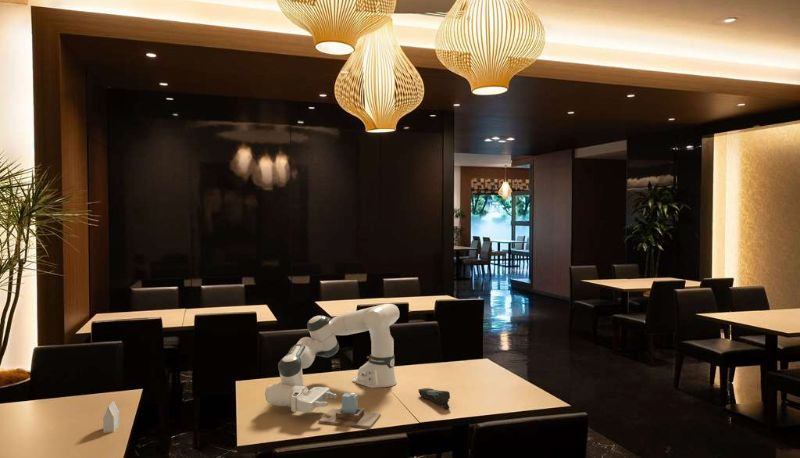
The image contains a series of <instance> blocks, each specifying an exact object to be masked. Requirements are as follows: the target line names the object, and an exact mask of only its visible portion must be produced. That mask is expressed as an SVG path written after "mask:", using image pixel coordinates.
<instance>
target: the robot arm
mask: <svg viewBox="0 0 800 458" xmlns="http://www.w3.org/2000/svg"><path fill="white" fill-rule="evenodd" d="M400 315H401V314H400V310H399V308H398V306H397V305H395V304H393V303H382V304H379V305H376V306H375V305H374V306H371V307H367V308H362V309H359V310H354V311H350V312H345V313H341V314H340V315H339V314H338V315H337V316H334V317H332V318H331V317H330V316H325V315H321V314H320V315H319V314H318V315H316V316H313V317H312V318H310V319H309V320H308V321H307V323H306V327H307V330H308V332H309V334H310V337H309V336H304V337H302V338H300V339H299V340H298V341H297V343H296V344H294V345H293V346H292V347H290V349H289V350H288V353H286V355H285V356H284V357H282V358H281V359H280V361H279V362H278V364H277V368H278V372H279V377H280V382H279V383H276V384H275V383H271V384H267V386H266V388H265V394H264V395H265V400H266V403H268V404H270V405H273V406H277V407H289V408H290V409H291V412H293V413H296V412H303V413H309V412H313V411H314V409H316V408H317V409H318V408H327V406H328V405H329V402H328V401H325V400H327V399H329V398H330V399H331V400H335V399H336V398H337V394H336V393H333V392H331V388H329V387H327V386H315V387H312V388H310V389H309V388H308V387H307V386H305V384H304V376H303V369H307V368H309V367H310V366H312V364H313V363H314V361H315V358H316V356H318V357H323V358H330V357H333V356H334V355H336V354H337V353H338V351H339V349H340V345H339V341H338V340H337V338H336V336H349V335H353V334H358V333H363V332H367V331H369V334H370V335H369V336H370V341H371V346H370V347H371V354H369V355H367V356H366V359H368V361H366V362H365V363H364V364H363V365H362V366H360V367H359V368H358V371H357V374H356V375H357V376H355V377H353V379H352V382H353V383H355V384H358V385H362V386H365V387H368V388H371V389H376V388H388V387H393V386H394V385H397V383H398V382H397V378H396V373H395V354H394V351H395V350H394V347H395V345H394V344H395V343H394V341H395V340H394V338H393V336H392V335H391V330H390V326H391V325H394V324H395V323H396V322H397V320H398V319H399V318H400Z"/></svg>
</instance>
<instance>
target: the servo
mask: <svg viewBox="0 0 800 458" xmlns="http://www.w3.org/2000/svg"><path fill="white" fill-rule="evenodd" d="M358 400H359V394H356V393H355V392H350V393H343V395H341V408H342V413H351V414H357V413H358V408H359V406H358V405H359V401H358Z"/></svg>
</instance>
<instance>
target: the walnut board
mask: <svg viewBox="0 0 800 458" xmlns="http://www.w3.org/2000/svg"><path fill="white" fill-rule="evenodd" d="M381 416H382V415H381V413H379V412H369V411H365V408H362V407H361V408H360V407H358V413H357V414H351V413H342V407H340V408H333V407H332V408H330V409H329V410H328V411H327V412H326V413H325V414H324V415H323V416H322V417H321V418H319V419H318V424H323V423H328V424H327V425H332V424H336V425H335V426H341V425H343V426H342V427H349V426H354V427H353V428H358V427H363V428H362V429H367V428H370V429H371V428H372V427H373V426H374V425H373V424H376V422H377V421H378V420H379V418H380V417H381Z"/></svg>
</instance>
